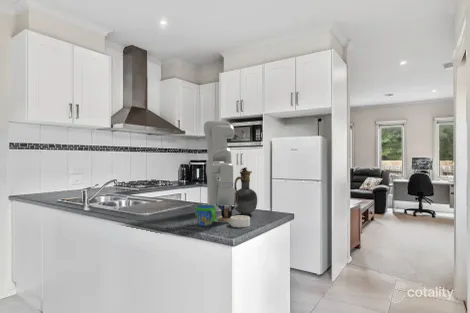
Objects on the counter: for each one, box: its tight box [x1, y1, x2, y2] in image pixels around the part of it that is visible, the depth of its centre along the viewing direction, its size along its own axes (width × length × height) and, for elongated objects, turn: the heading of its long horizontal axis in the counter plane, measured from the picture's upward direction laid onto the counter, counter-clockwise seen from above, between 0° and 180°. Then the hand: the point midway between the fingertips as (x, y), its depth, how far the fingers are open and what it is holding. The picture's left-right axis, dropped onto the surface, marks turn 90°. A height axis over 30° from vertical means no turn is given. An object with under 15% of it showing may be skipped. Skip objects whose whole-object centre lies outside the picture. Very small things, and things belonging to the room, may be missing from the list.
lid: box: [216, 207, 233, 223], centre depth 167 cm, size 11×11×6 cm
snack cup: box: [194, 204, 217, 227], centre depth 156 cm, size 16×10×10 cm
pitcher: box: [233, 167, 258, 217], centre depth 178 cm, size 11×19×30 cm, turn 145°
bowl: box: [229, 214, 251, 228], centre depth 155 cm, size 10×10×4 cm
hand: (226, 217), depth 167 cm, fingers closed on lid, 3 cm apart
